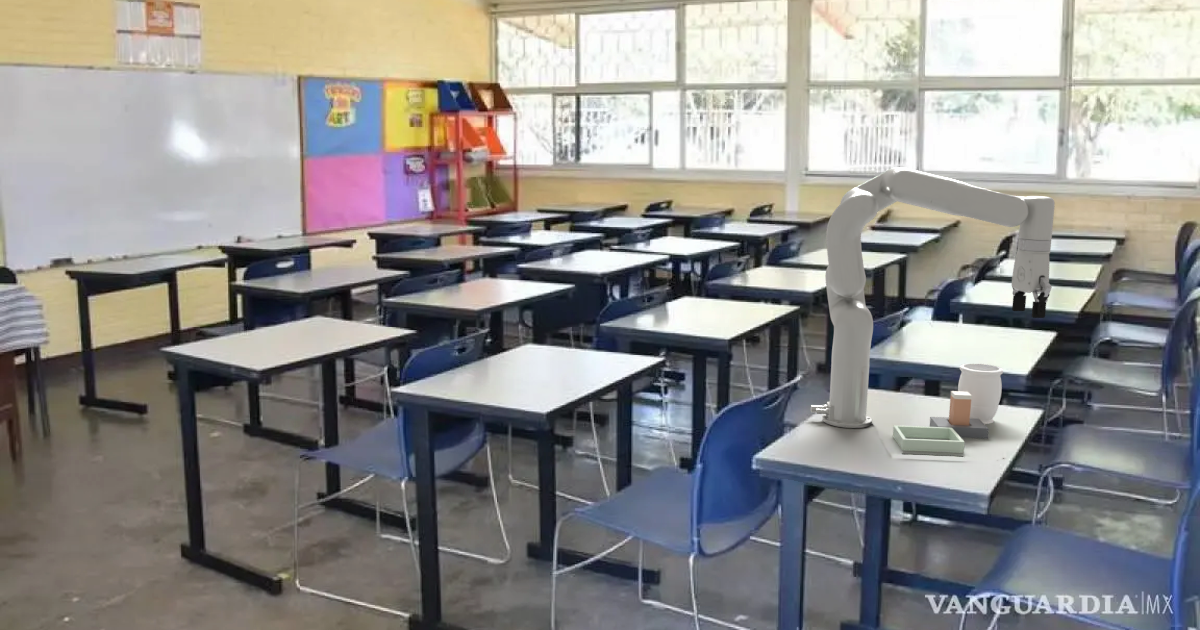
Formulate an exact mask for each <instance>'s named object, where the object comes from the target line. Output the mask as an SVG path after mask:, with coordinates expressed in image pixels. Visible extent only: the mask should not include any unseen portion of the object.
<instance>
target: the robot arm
mask: <svg viewBox="0 0 1200 630" xmlns="http://www.w3.org/2000/svg"><path fill="white" fill-rule="evenodd" d="M896 202H899V203H902V204H907V205H911V206H914V207H919V208H923V209H927V210H931V211H935V212H939V213H944V214H948V215H952V216H958V217H959V216H960V217H965V218H970V219H975V220H978V221H983V222H987V223H991V224H995V225H999V226H1003V227H1008V228H1015V227H1018V226H1019V230H1018V231H1019V232H1018V233H1019V234H1018V245H1017V251H1016V255H1015V259H1014V262H1013V263H1014V264H1013V269H1012V276H1011V288H1012V304H1011V305H1012V306H1011V309H1012V310H1011V311H1013V312H1025V311H1026V302H1027V295H1026V293H1027V294H1030V293H1032V295H1033V296H1032V297H1033V299H1034V301H1032V309H1031V318H1033V319H1045V318H1046V310H1047V303H1048V300H1049V299H1048V298H1049V297H1050V293H1051V290H1052V285H1051V284H1050V254H1051V247H1052V237H1053V225H1054V217H1055V216H1054V215H1055V205H1056V203H1055V200H1054V198H1053V197H1050V196H1044V195H1043V196H1041V195H1040V196H1039V195H1028V196H1020V195H1019V196H1018V195H1017V196H1016V195H1011V194H1007V193H1003V192H999V191H994V190H990V189H987V188H982V187H979V186H975V185H971V184H969V183H966V182H963V181H960V180H957V179H953V178H949V177H946V176H941V175H936V174H933V173H928V172H924V171H920V170H916V169H912V168H907V167H901V166H896V167H892V168H889V169H887V170H885V171H883V172H882V173H880V174H878V175H876V176H874V177H872V178H871V179H868V180H867V181H865V182H862V183H861V184H859V185H857V186H854V187H853V188H852V189H849V190H848V191H847V192H845V194H844V195H843V196H842V198H841V200H840V203H839V205H838V206H837V207H836V208H835V210H834V211H833V213H832V214H831V215H830V218H829V220H828V223H827V226H826V234H825V235H826V238H825V239H826V250H827V251H826V253H827V261H828V266H827V267H826V269H825V287H826V295H827V301H828V309H829V316H830V320H831V321H830V322H831V323H832V325H833V339H832V349H831V365H830V367H831V368H830V383H829V384H830V386H829V387H830V388H829V400H828V401H826V404H822V405H817V404H810V412H811V413H814V414H815V413H816V415H821V416H822V419H821V420H822V422H824V423H825V424H827V425H830V426H834V427H839V428H846V429H861V428H862V429H863V428H866V427H870V426H871V425H872V424H873V419H872V417H870V416H869V415H867V412H868V411H867V408H868V407H867V406H868V396H869V395H868V394H869V392H868V391H869V376H870V361H871V360H870V358H871V346H872V340H873V339H872V338H873V332H874V319H873V315H872V313H871V311H870V310H869V308H868V307H867V306H866V299H865V298H866V297H865V290H864V288H865V286H866V284H867V283H866V282H867V277H866V270H865V267H864V260H863V254H862V253H863V251H862V238H861V237H862V232H863V230H864V228H865V226H866V225H867V224H869V223H870V222H871V221H872V220H874V218H875V217H876V216H877V214H878V213H879V212H881V211H882V210H884V209H886V208H888V207H890V206H891V205H893V204H894V203H896Z"/></svg>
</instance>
